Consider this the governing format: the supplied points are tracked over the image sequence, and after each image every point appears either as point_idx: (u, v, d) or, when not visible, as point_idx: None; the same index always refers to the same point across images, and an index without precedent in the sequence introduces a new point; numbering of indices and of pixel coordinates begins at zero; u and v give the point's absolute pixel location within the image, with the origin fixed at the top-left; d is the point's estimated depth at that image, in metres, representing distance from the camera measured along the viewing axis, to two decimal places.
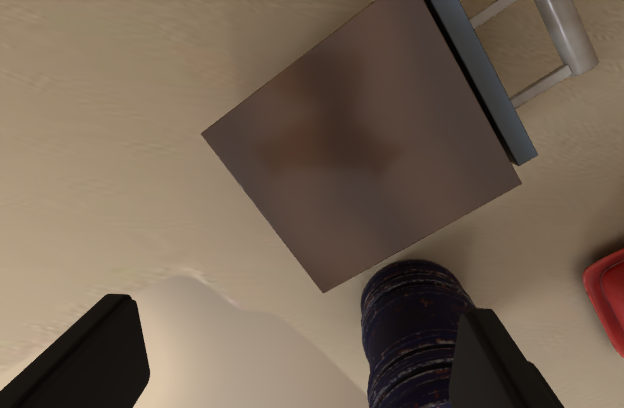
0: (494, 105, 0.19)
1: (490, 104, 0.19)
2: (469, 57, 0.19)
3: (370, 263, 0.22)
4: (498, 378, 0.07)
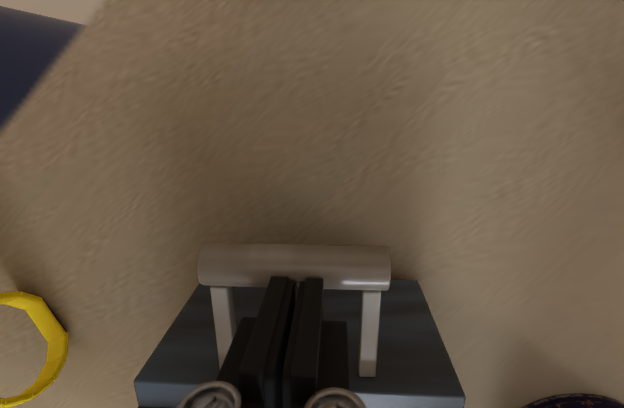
0: None
1: None
2: None
3: None
4: (290, 328, 0.09)
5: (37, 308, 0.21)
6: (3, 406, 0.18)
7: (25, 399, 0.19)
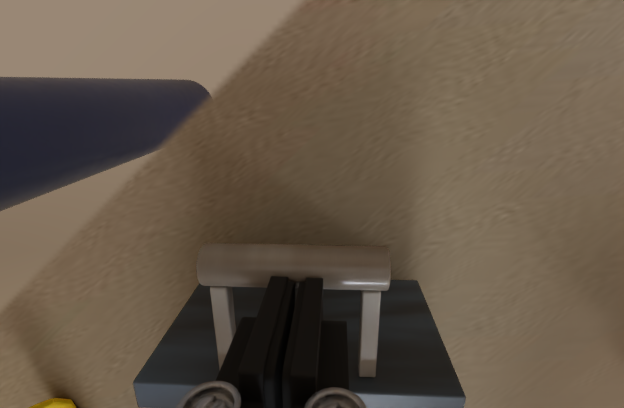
0: None
1: None
2: None
3: None
4: (290, 328, 0.09)
5: None
6: None
7: None
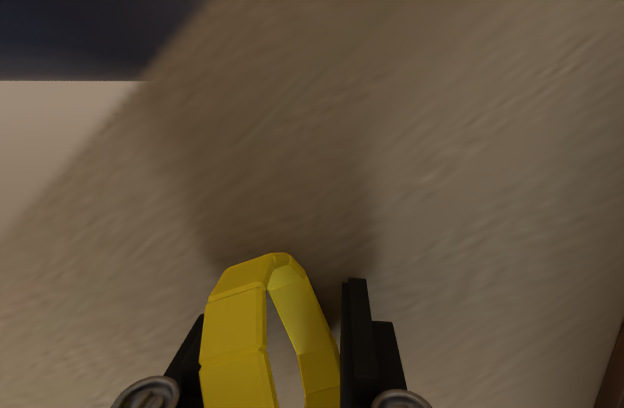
0: None
1: None
2: None
3: None
4: (342, 329, 0.09)
5: (296, 289, 0.11)
6: None
7: None
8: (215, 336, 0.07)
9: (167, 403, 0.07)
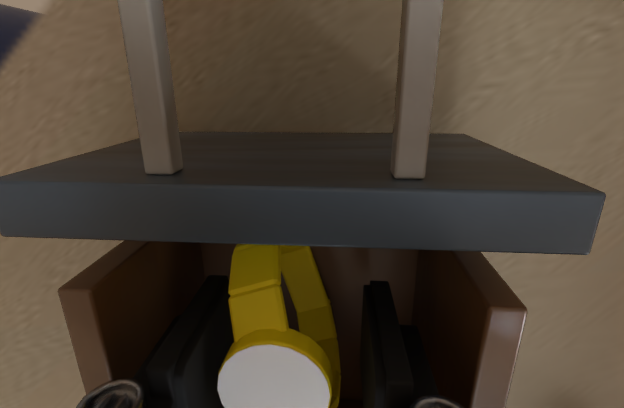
0: (372, 231, 0.07)
1: (364, 238, 0.07)
2: (214, 226, 0.07)
3: None
4: (370, 333, 0.08)
5: (299, 256, 0.13)
6: None
7: (336, 407, 0.11)
8: (242, 274, 0.09)
9: (132, 405, 0.07)
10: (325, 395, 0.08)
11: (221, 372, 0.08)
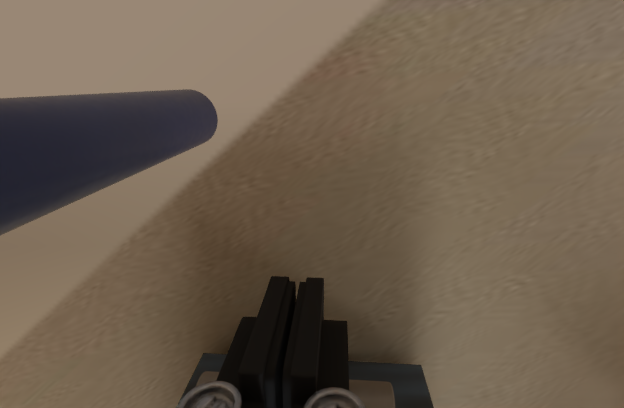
0: None
1: None
2: None
3: None
4: (291, 328, 0.09)
5: None
6: None
7: None
8: None
9: None
10: None
11: None
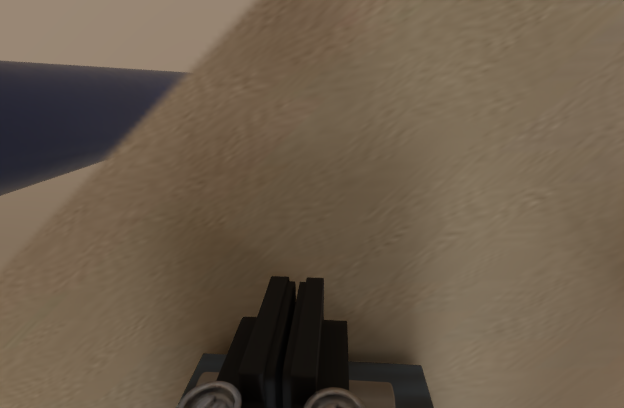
0: None
1: None
2: None
3: None
4: (291, 328, 0.09)
5: None
6: None
7: None
8: None
9: None
10: None
11: None
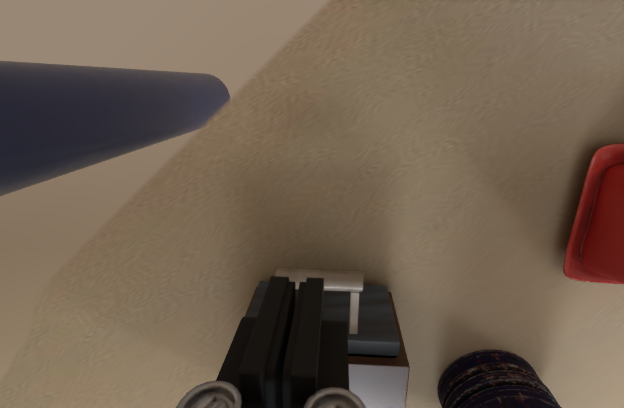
0: None
1: None
2: None
3: None
4: (290, 328, 0.09)
5: None
6: None
7: None
8: None
9: None
10: None
11: None
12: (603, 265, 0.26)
